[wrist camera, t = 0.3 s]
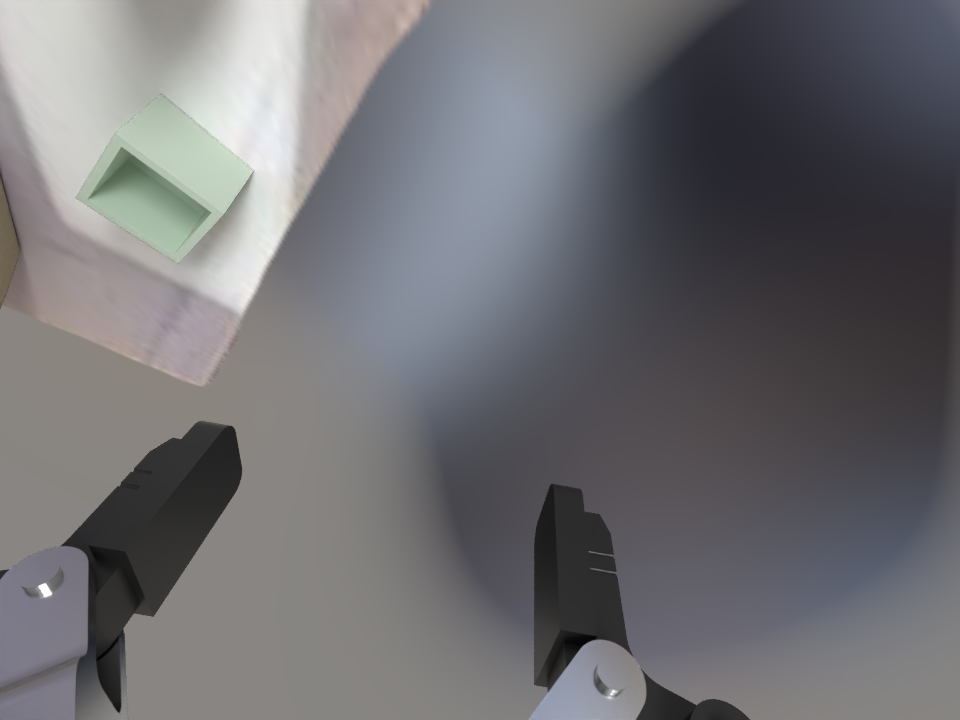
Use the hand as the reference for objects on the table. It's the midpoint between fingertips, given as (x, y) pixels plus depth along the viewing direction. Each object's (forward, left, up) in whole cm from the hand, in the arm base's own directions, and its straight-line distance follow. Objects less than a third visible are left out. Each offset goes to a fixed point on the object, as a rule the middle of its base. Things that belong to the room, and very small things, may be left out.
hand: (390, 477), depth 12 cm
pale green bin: (-8, -22, -29) cm, 37 cm away
